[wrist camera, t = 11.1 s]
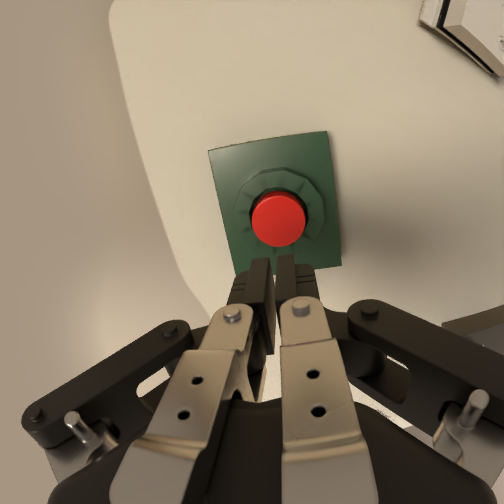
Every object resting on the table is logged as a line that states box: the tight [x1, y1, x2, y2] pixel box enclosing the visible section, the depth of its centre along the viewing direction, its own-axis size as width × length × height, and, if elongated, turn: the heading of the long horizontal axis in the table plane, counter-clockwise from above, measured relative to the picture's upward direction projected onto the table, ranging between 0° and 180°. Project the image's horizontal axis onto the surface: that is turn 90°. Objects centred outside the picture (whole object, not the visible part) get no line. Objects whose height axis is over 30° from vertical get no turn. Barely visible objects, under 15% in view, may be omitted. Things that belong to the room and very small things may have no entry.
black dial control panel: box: [441, 306, 504, 355], centre depth 28 cm, size 14×11×3 cm
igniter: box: [208, 131, 342, 276], centre depth 23 cm, size 11×9×4 cm
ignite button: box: [252, 191, 305, 247], centre depth 20 cm, size 4×4×2 cm
